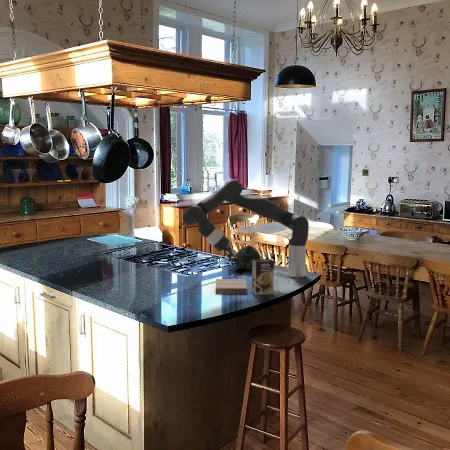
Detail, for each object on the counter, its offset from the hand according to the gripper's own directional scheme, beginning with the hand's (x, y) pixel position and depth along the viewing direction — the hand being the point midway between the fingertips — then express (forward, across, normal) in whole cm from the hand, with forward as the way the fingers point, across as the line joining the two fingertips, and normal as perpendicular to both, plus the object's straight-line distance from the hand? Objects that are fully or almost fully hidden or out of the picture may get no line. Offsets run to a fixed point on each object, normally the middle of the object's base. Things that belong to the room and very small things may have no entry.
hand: (241, 263), depth 241 cm
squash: (+14, -48, -7) cm, 51 cm away
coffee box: (+18, 0, -3) cm, 18 cm away
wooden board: (+7, -7, -14) cm, 17 cm away
